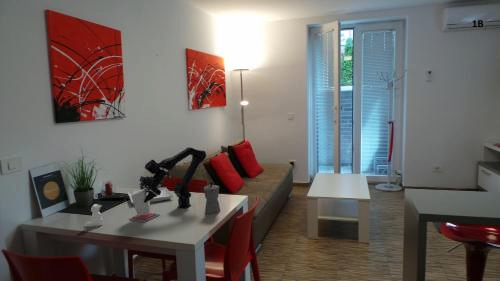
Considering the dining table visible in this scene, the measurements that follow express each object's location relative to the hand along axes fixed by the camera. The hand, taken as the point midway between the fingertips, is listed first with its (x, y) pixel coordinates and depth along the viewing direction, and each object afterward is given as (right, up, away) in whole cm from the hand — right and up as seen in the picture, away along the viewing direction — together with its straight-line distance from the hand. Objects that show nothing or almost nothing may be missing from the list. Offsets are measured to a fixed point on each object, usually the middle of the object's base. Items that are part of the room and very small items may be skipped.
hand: (141, 200), depth 201 cm
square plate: (-7, -6, +42) cm, 43 cm away
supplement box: (+2, -7, +1) cm, 7 cm away
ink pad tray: (+1, -10, +2) cm, 11 cm away
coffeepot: (+40, -8, +9) cm, 42 cm away
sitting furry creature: (-23, -13, -6) cm, 27 cm away
